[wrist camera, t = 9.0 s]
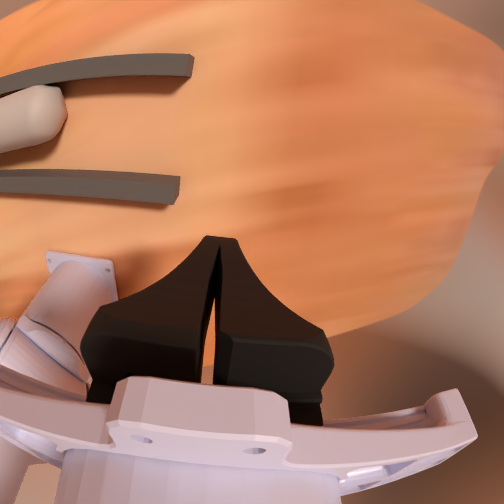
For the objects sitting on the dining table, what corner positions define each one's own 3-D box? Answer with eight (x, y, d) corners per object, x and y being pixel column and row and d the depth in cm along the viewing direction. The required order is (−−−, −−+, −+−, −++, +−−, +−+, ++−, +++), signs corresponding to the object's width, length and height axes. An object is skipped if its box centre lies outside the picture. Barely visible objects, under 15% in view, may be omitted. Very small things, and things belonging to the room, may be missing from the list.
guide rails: (178, 194, 21) (173, 204, 20) (-25, 184, 19) (-37, 191, 17) (194, 57, 16) (189, 54, 14) (-30, 90, 13) (-42, 93, 12)
